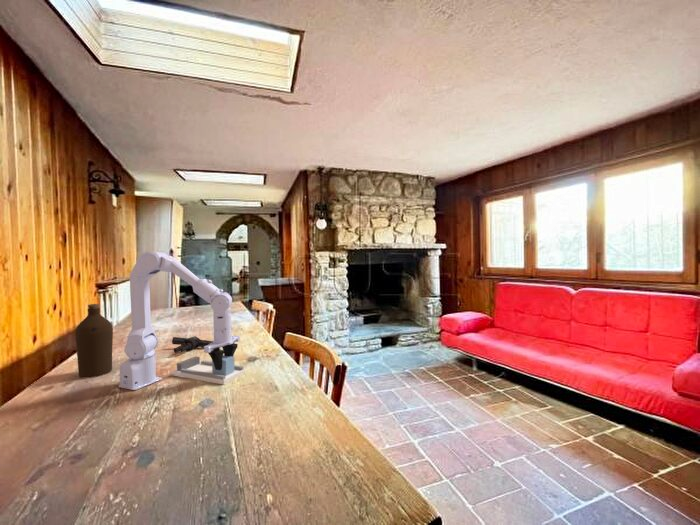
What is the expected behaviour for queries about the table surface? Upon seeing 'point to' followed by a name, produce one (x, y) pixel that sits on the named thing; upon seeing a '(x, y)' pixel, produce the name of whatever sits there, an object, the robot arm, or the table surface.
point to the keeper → (225, 366)
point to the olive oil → (94, 344)
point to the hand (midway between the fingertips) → (223, 367)
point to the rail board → (205, 371)
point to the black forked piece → (188, 343)
